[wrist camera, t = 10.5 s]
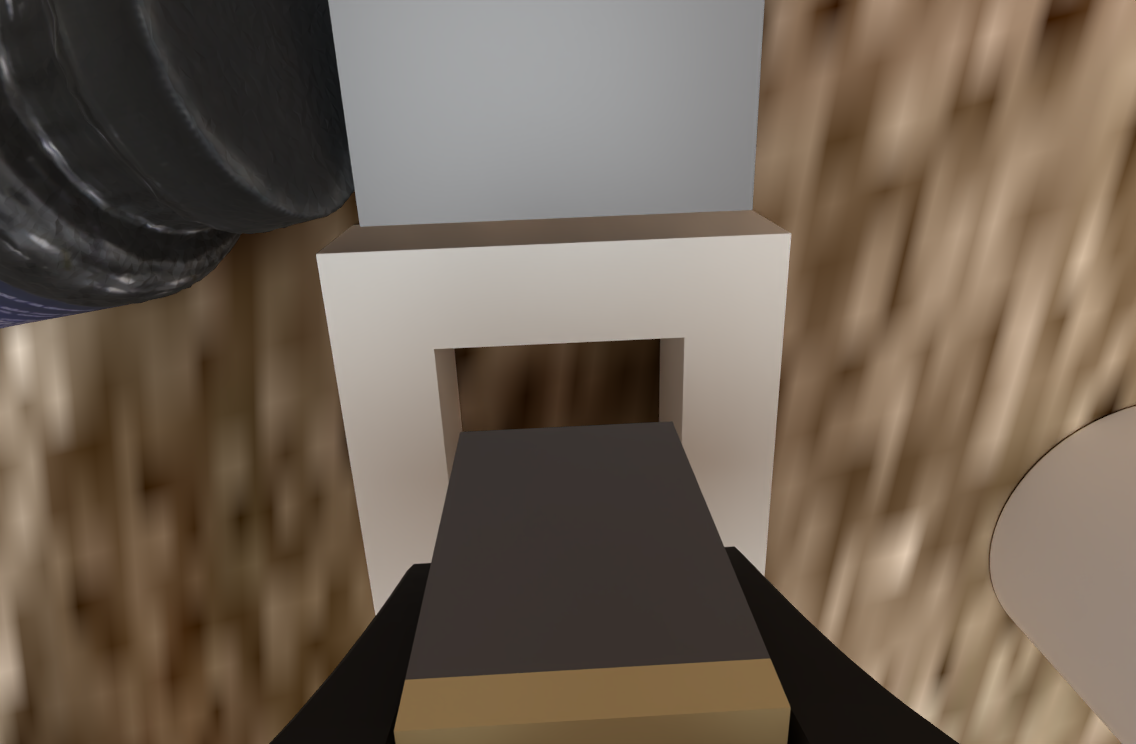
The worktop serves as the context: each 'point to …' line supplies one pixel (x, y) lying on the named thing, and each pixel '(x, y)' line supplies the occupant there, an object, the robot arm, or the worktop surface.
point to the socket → (547, 316)
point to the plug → (584, 601)
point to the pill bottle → (157, 142)
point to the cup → (1078, 565)
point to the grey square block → (548, 107)
